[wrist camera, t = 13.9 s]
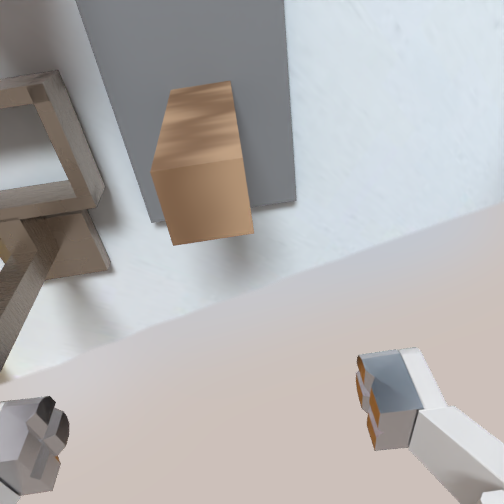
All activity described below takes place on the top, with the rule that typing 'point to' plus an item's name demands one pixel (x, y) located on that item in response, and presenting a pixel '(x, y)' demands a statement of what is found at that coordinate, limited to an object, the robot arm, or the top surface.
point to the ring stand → (47, 208)
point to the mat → (198, 79)
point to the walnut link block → (201, 166)
